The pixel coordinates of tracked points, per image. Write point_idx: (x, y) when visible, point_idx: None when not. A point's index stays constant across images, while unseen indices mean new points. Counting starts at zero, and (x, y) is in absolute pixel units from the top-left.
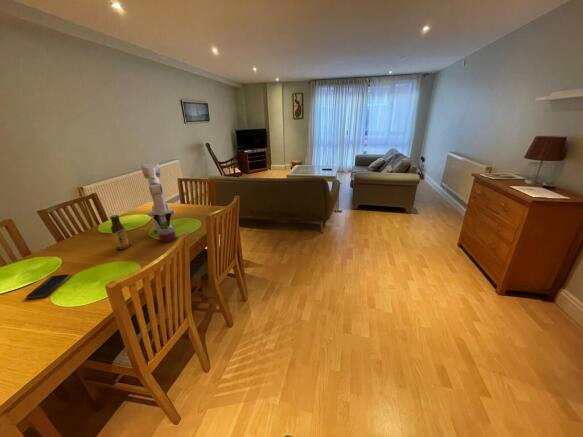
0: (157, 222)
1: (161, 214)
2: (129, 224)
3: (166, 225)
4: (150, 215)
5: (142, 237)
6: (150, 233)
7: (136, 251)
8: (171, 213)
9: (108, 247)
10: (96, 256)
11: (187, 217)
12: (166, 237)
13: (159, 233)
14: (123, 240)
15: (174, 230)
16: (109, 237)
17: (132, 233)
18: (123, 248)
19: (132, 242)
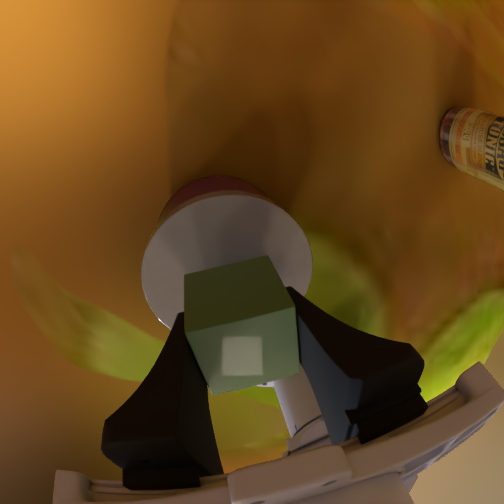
0: (332, 317)
1: (234, 483)
2: (450, 359)
3: (195, 300)
4: (463, 386)
5: (404, 259)
6: (373, 308)
7: (375, 56)
8: (111, 488)
9: None
10: (501, 79)
11: (236, 450)
12: (197, 192)
13: (271, 204)
14: (486, 124)
15: (145, 289)
16: (500, 256)
17: (445, 297)
18: (452, 109)
19: (436, 196)
